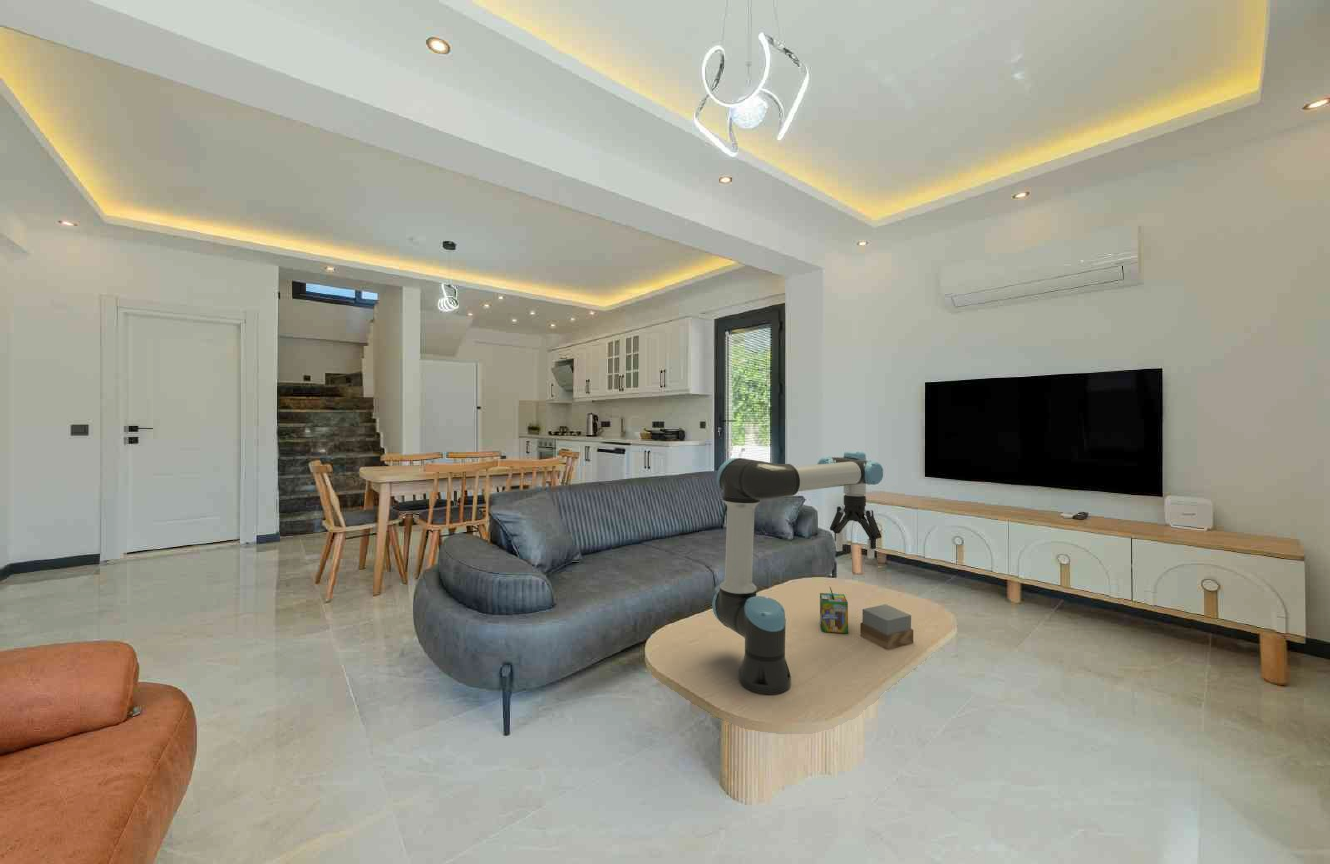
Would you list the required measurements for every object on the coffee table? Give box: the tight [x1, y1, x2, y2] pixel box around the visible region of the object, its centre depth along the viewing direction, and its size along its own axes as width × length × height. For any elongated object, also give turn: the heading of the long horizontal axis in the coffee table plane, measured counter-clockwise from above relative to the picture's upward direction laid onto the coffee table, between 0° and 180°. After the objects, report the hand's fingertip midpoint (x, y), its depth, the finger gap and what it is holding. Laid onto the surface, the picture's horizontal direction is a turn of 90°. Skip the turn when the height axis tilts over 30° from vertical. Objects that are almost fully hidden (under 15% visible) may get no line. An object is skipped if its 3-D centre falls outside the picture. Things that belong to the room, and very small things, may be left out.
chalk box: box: [819, 586, 849, 634], centre depth 191 cm, size 9×9×15 cm
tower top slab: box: [861, 604, 912, 635], centre depth 181 cm, size 11×11×5 cm
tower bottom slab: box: [859, 622, 914, 651], centre depth 182 cm, size 12×12×5 cm
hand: (854, 554), depth 186 cm, fingers open, 13 cm apart
